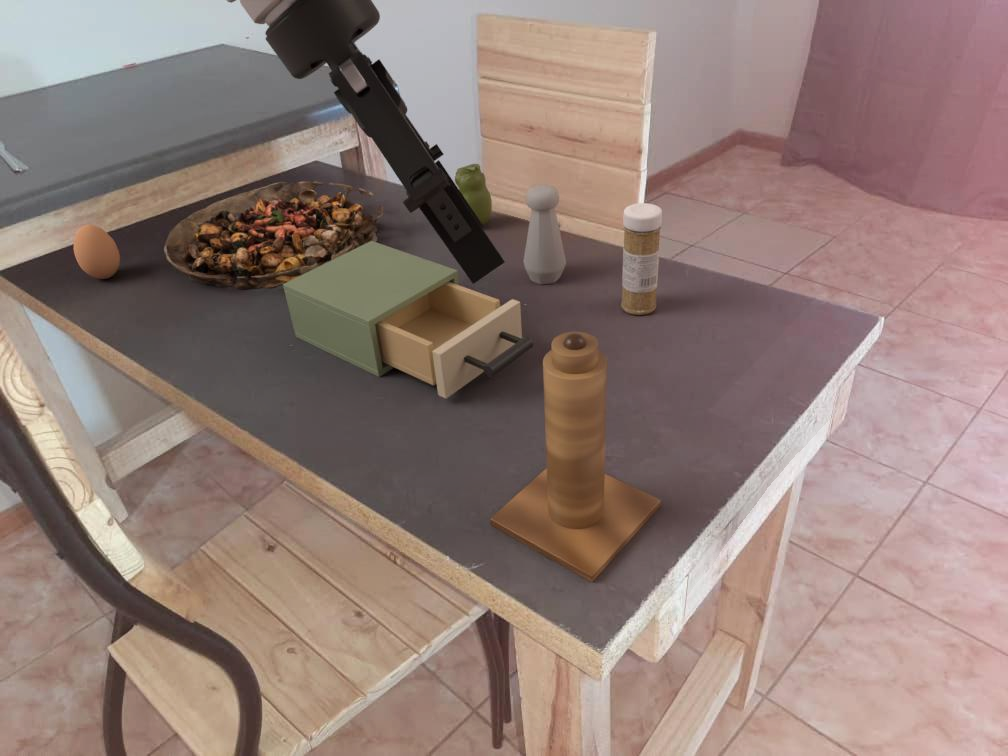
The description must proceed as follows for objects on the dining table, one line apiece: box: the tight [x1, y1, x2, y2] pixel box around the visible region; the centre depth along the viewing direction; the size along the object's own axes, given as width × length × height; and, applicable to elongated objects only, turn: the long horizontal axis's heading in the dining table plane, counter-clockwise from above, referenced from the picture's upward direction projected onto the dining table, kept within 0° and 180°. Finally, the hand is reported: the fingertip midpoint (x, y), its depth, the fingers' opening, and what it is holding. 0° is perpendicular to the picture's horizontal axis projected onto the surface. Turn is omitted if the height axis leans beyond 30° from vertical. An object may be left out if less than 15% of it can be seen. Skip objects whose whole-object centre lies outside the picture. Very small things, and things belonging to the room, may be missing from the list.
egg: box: [73, 224, 121, 280], centre depth 114 cm, size 6×6×8 cm
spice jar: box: [620, 202, 663, 316], centre depth 96 cm, size 5×5×14 cm
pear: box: [454, 163, 493, 226], centre depth 121 cm, size 6×5×10 cm
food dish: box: [163, 180, 384, 290], centre depth 120 cm, size 35×33×8 cm
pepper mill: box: [542, 331, 608, 529], centre depth 64 cm, size 5×5×18 cm
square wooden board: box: [489, 467, 662, 583], centre depth 70 cm, size 11×11×1 cm
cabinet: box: [282, 241, 460, 378], centre depth 97 cm, size 16×15×8 cm
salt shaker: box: [523, 184, 567, 285], centre depth 104 cm, size 6×6×13 cm
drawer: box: [375, 282, 534, 400], centre depth 90 cm, size 19×13×6 cm
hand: (478, 251), depth 61 cm, fingers open, 13 cm apart
